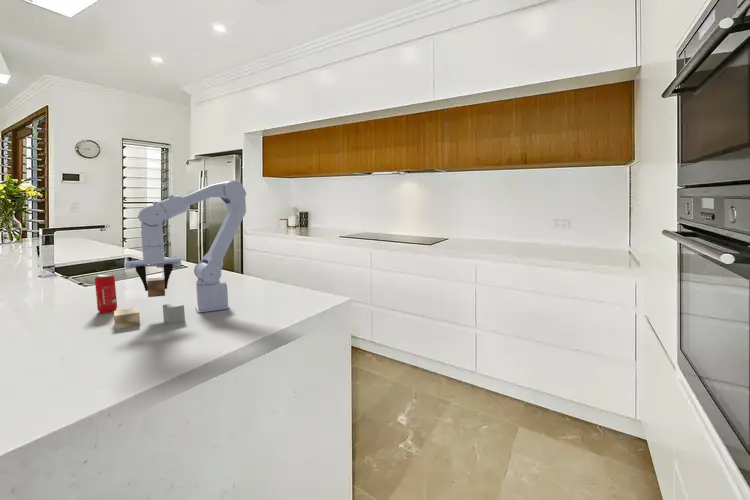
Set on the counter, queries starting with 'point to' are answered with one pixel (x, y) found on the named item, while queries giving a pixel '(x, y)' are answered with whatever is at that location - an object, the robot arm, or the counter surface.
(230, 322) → the counter surface
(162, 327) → the counter surface
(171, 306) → the grey block
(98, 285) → the beverage can
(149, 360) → the counter surface
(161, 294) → the walnut block
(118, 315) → the maple base
